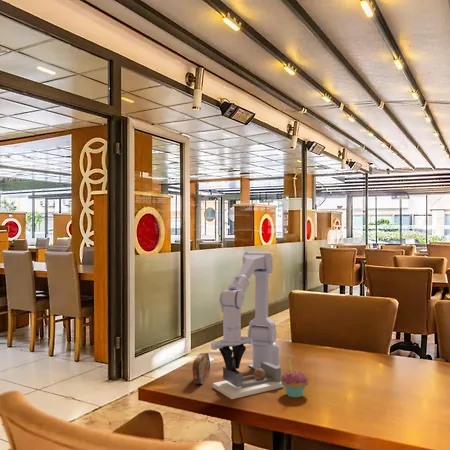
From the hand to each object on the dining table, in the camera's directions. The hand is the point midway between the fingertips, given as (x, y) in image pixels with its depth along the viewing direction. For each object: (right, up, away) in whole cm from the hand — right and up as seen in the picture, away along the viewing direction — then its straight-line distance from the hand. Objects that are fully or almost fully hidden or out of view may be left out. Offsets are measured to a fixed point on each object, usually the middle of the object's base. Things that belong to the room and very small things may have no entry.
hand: (232, 368), depth 149 cm
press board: (+5, -7, +3) cm, 9 cm away
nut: (+9, -4, +5) cm, 11 cm away
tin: (-11, -8, +11) cm, 17 cm away
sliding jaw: (0, -4, 0) cm, 4 cm away
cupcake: (+20, -7, -4) cm, 21 cm away
